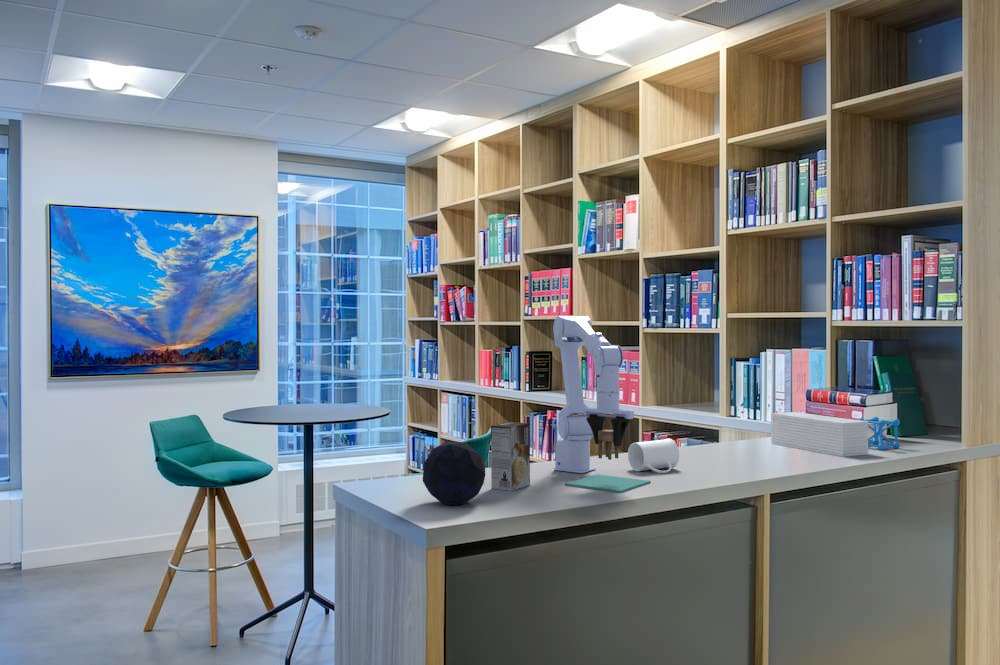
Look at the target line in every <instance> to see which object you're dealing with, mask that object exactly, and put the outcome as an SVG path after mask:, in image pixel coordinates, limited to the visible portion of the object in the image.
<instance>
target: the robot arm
mask: <svg viewBox="0 0 1000 665" xmlns="http://www.w3.org/2000/svg"><path fill="white" fill-rule="evenodd" d="M592 327H593V324H592V319H591V318H590V316H588V315H578V316H577V315H575V316H572V315H565V316H564V315H557V316H556V317H555V319H554V321H553V327H552V330H553V340H554V344H555V347H557V348H558V349H559V350H560V351H559V352H560V356H561V357H560V358H561V367H562V368H561V369H562V375H563V376H562V377H563V383H564V385H563V386H564V392H565V401H566V403H565V404H566V405H565V406H564V407H563V408H562V409H561V410H559V412H558V415H557V416H558V422H557V431H558V434H559V436H560V438H558V440H557V441H556V444H555V448H554V449H555V450H554V452H555V455H554V459H555V462H554V463H555V467H554V468H553V470H554V471H562V472H569V473H578V474H584V473H587V472H591V471H594V470H595V471H596V470H597V467H594V466H593V467H592V466H591V440H592V439H594V445H598V430H604V424H605V420H606V418H611V419H610V422H611V426H612V430H613V432H614V442H613V445H614V447H615V446H618V447H621V446H622V442H623V438H624V434H625V433H626V432H625V431H626V429H627V427H628V426H629V424H630V423H631V420H632V419H634V418H635V410H628V409H623V408H622V409H621V408H620V368H621V367H622V365H623V362H624V351H623V349H622V347H621V346H620V345H619V344H615V345H612V344H611V342H609V341H608V340H607V338H606V337H605V336H604V335H603V334H602V332H595V330H594V329H593V328H592ZM581 347H584V348H585V349H586V351H587V352H588V353H589V354H590V355H591V356H592V362H593V366H594V374H595V375H596V407H591V406H590V407H589V406H588V405H586V404H585V401H584V394H583V393H584V392H583V385H582V376H581V369H580V368H581V367H580V361H579V360H580V359H579V353H578V352H579V349H580V348H581Z"/></svg>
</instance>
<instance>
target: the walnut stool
mask: <svg viewBox="0 0 1000 665" xmlns="http://www.w3.org/2000/svg"><path fill="white" fill-rule="evenodd" d="M603 442H604V443H605V446H604V448H605V451H604V452H605V453H604V455H605V458H607V460H611V461H612V458H613V457H612V456H613V455H612V454H614V459H619V446H614V450H612V443H614V432H613V429H603V430H598V444H597V445H598V446H597V447H598V459H602V458H603Z"/></svg>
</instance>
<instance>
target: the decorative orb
mask: <svg viewBox="0 0 1000 665" xmlns="http://www.w3.org/2000/svg"><path fill="white" fill-rule="evenodd" d="M422 470H423V471H422V482H423V485H424V487H425V488H426V490H427V491H428V493H429V494H430V495H431V496H432V497H433V498H435V499H436V500H437V501H438V502H440V503H441V504H442V505H451V504H452V506H464V505H465V504H466V503H467V502H469V501H471V500H473V498H475V497H476V496H477V495H479V493H480V491H481V490H482V487H483V486H484V483H485V479H486V464H485V462H484V459H483V457H482V455H481V454H480V453H479V452H478V451H476V449H474V448H473V447H472V446H471V445H469V444H468V443H467V442H466V441H445V442H443V443H441V444H439V445H437V446H435V447H434V448H433V449H432V450H431V452H430V453H429V454H428V456H427V457H426V459H425V461H424V462H423V468H422Z"/></svg>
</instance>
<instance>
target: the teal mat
mask: <svg viewBox="0 0 1000 665" xmlns="http://www.w3.org/2000/svg"><path fill="white" fill-rule="evenodd" d="M648 484H651V480H647V479H638V478H631V477H623V476H614V475H607V474H599V473H597V474H594V475H590V476H587V477H583V478H580V479H576V480H573V481H570V482H569V481H568V482H565V483H564V485H565V486H569V487H575V488H576V487H577V488H583V489H590V490H598V491H603V492H611V493H619V494H621V493H624V492H627V491H631V490H633V489H636V488H639V487H643V486H646V485H648Z"/></svg>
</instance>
